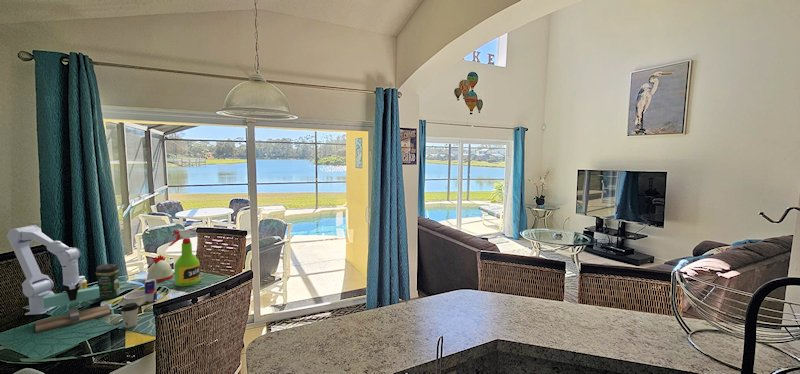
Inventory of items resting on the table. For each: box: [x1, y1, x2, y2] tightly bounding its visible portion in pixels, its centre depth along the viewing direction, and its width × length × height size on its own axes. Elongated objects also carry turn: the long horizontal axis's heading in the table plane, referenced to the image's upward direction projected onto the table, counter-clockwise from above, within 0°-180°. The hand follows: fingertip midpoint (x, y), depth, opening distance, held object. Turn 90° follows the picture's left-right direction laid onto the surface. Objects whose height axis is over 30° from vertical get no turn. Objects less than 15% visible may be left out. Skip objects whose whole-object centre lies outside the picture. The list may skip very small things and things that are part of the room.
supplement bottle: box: [78, 275, 88, 290], centre depth 194 cm, size 5×5×10 cm
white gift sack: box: [146, 254, 174, 283], centre depth 219 cm, size 14×14×15 cm
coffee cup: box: [119, 302, 140, 329], centre depth 160 cm, size 7×7×10 cm
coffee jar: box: [95, 263, 121, 300], centre depth 190 cm, size 10×8×19 cm
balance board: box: [34, 304, 112, 333], centre depth 166 cm, size 12×26×4 cm, turn 136°
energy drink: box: [143, 278, 158, 303], centre depth 186 cm, size 5×5×12 cm
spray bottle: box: [168, 229, 201, 287], centre depth 210 cm, size 14×18×35 cm
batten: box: [43, 285, 100, 308], centre depth 170 cm, size 20×4×5 cm, turn 131°
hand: (72, 298), depth 170 cm, fingers closed on batten, 4 cm apart
